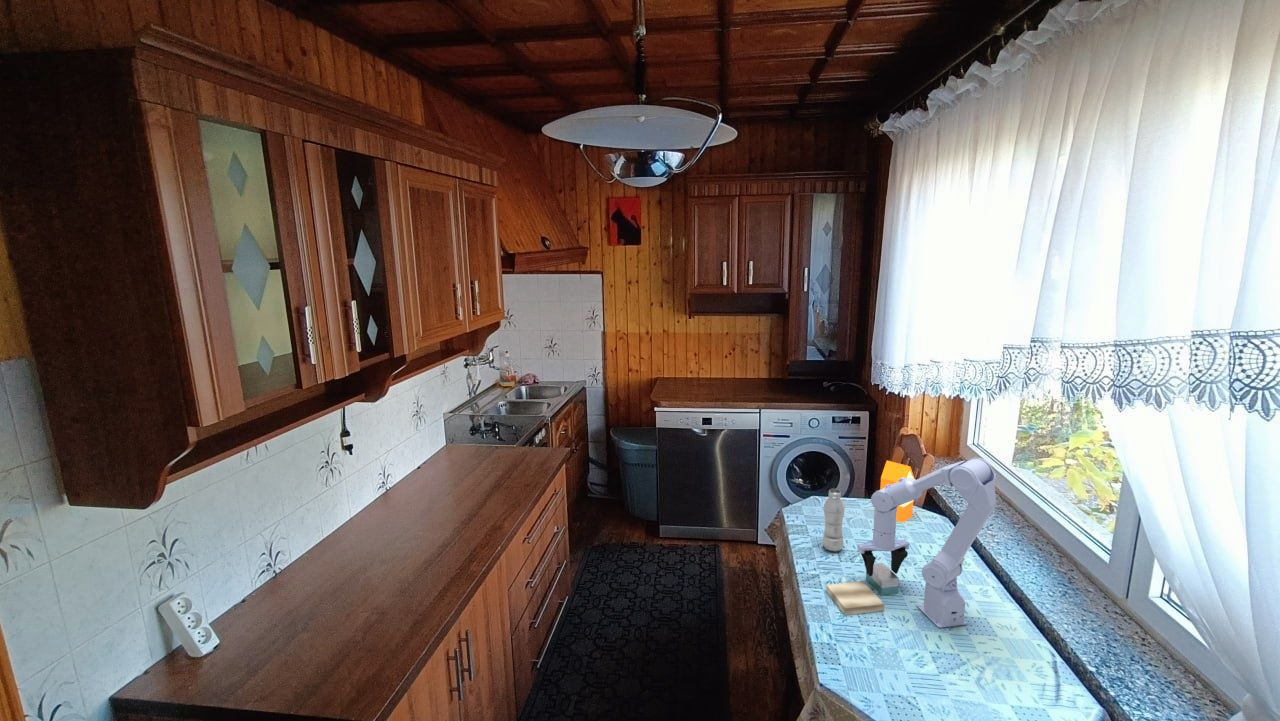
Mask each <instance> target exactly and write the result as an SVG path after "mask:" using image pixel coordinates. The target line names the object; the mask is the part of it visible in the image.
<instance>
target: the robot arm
mask: <svg viewBox="0 0 1280 721" xmlns="http://www.w3.org/2000/svg"><path fill="white" fill-rule="evenodd" d="M996 479H997V475H996V473H995V471H994V469H993V467H992V466H991V464H990V463H989V462H988V461H987V460H986V459H983V458H980V457H971V458H970V459H968V460H967V461H966V460H962V461H958V462H955V463H952V464H949V465H945V466H943V467H941V468H940V469H937V470H935V471H933V472H930V473H928V474H926V475H924V476H921V477H920V478H918V479H913V478H906V479H905V477H903V478H900V479H898V481H899V482H897V483H895V484H892V485H890V484H888V485H886V486H885V488H883V489H881V490H880V489H879V490H875V492H873V494H872V495H871V499H870V501H871V502H870V503H871V505H872V506H873V507H874V513H873V531H872V533H873V534H872V539H871V540H868V541H865V542H862V543H857V552H859V553H860V554H861V557H862V560H863V563H864V567H865V574H866V573H867V574H868V575H869V576H872V575H873V566H874V564H875V562H876V559H877V558H876V556H874V553H873V552H877V551H878V552H890V557H891V560H890V561H891V562H890V570H891V571H892V572H893V573H894V574H895V575H897V574H898V572H899V570H900V568H901V565H902V563H903V562H904V560H905V559H906V558H907V557H908V556H909V554H908V553H909V552H908V551H907V550H909V549H910V542H909V541H908V540H907V539H896V530H897V521H896V517H897V507H898V506H899V505H902V504H905V503H907V502H910V501H913V500H914V501H915V500H917V499H920V498H921V497H922V494H923V491H926V490H929V489H931V488H935V487H938V486H940V485H943V484H945V485H946V486H948V487H949V488H951V487H954V488H955V490H956V491H957V492H958V493H959V494H960V496H962V497H963V499H964V500H965V501H966V502H967V503H968V504H967V505H966V508H965V510H964V511H963V513H962V515H961V516H960V518H959V520H958V521H957V523H956V524H955V526H954V527H953V530H952V531H951V533H949V534H950V535H949V536H948V538H946V541H945V542H944V545H943V546H942V547H941V549H940V551H939V552H937V554H936V555H935V556H934V557H933V559H932V560H931V561H930V562H929V563H926V564H925V565H923V567H922V569H921V577H922V578H923V580H924V581H925V584H924V586H925V587H924V602H922V603H917V604H916V607H917V608H918V609H919V610H920V611H921V612H922V613H923V614H924V615H925V616H926V617H927V618H928V619H929V620H930V621H931V622H932V623H933V624H934V625H935V626H936V627H937V628H947V627H948V628H949V627H957V626H965V625H967V623H968V622H967V621H965V610H966V601H965V599H964V598H963V596H962V595H961V593H960V592H959V590H958V580H957V578H958V577H959V576H960V575H961V574H962V573H963V563H964V561H965V560H966V559H965V555H966V554H967V552H968V551H969V549H970V548H971V547H972V544H973V543H974V542H975V540H976V538H977V537H978V535H979V533H980V532H981V531H982V528H984V525H985V524H986V523H987V521H988V519H989V518H990V516H991V514H992V513H993V511H994V509H996V505H997V500H996V497H997V496H996V487H995V486H996V484H995V483H996ZM914 501H913V502H914Z"/></svg>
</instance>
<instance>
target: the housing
mask: <svg viewBox="0 0 1280 721" xmlns="http://www.w3.org/2000/svg"><path fill="white" fill-rule="evenodd" d="M865 581H866V582H867V583H869V585H870V586H871V587H872V588H873V589H874V590H875V591H876V592H877V593H878V594H879V595H880V596H881V597H882V596H889V595H897V594H899V581H900V580H899V577H898V575H897V574H895V573H894V572H893V571H892V570H891V568H889V567H887V565H885V564H884V563H883V562H878V563H877V562H876V563H874V566H873V575H872V576H869V575H868V574H867V573H866V572H865Z"/></svg>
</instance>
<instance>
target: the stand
mask: <svg viewBox="0 0 1280 721" xmlns="http://www.w3.org/2000/svg"><path fill="white" fill-rule="evenodd" d="M825 589H826V590H825V592H826V593H827V594H828V595H829V597H830V598H831V599H832V601H833V602H834V603H835V605H836V606H837V608H839V610H840V611H841V612H842V614H844V616H849V615H858V614H859V615H861V614H865V613H866V614H867V613H869V614H870V613H878V612H884V611H885V603H884V602H883V601H882V600H881V599H880V598H879V597H878V595H876V594H875V592H874V591H872V589H871V588H870V587H869V586H868V584H867V583H865V582H864V581H863V580H860V581H858V580H857V581H850V582H840V583H832V584H831V583H830V584H826V585H825Z"/></svg>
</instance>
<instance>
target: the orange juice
mask: <svg viewBox="0 0 1280 721" xmlns="http://www.w3.org/2000/svg"><path fill="white" fill-rule="evenodd" d="M912 470H913V469H912V467H911V466H909V465H906V464H902V463H899V462H898V463H897V462H894V461H891V460H886V462H885V464H884V468H883V470H882V474H881V476H880V486H879V488H880V489H879V490H881V489H883V488H885V486H886V485H888V484H890V485H892V484H895V483H897V482H899V481H898V479H900V478H903V477H905V479H906V478H913V479H915V477H914V474H913V471H912ZM915 480H916V479H915ZM914 501H915V500H913V501H910V502H907V503H905V504H902V505H899V506H898V507H897V517H896V522H899V523H902V524H903V523H905V522H906V521H907V520H909V519H911V518H912V517H913V512H914V511H913V510H914Z"/></svg>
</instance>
